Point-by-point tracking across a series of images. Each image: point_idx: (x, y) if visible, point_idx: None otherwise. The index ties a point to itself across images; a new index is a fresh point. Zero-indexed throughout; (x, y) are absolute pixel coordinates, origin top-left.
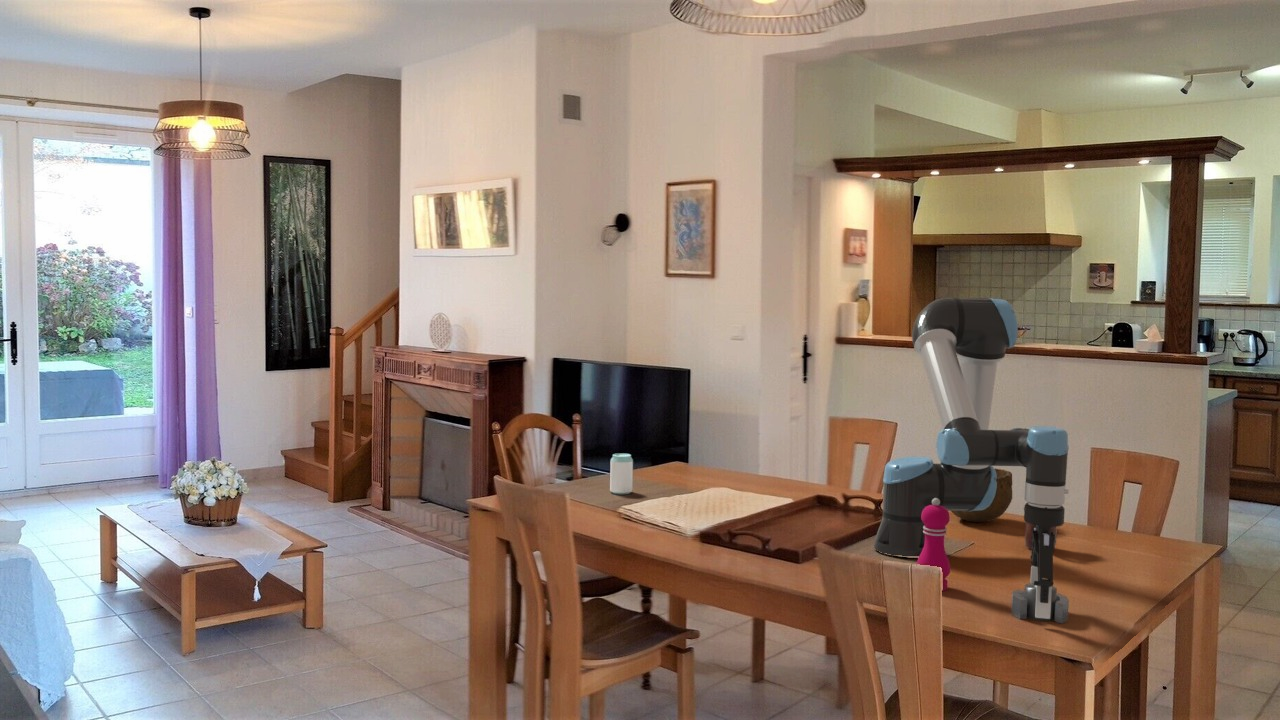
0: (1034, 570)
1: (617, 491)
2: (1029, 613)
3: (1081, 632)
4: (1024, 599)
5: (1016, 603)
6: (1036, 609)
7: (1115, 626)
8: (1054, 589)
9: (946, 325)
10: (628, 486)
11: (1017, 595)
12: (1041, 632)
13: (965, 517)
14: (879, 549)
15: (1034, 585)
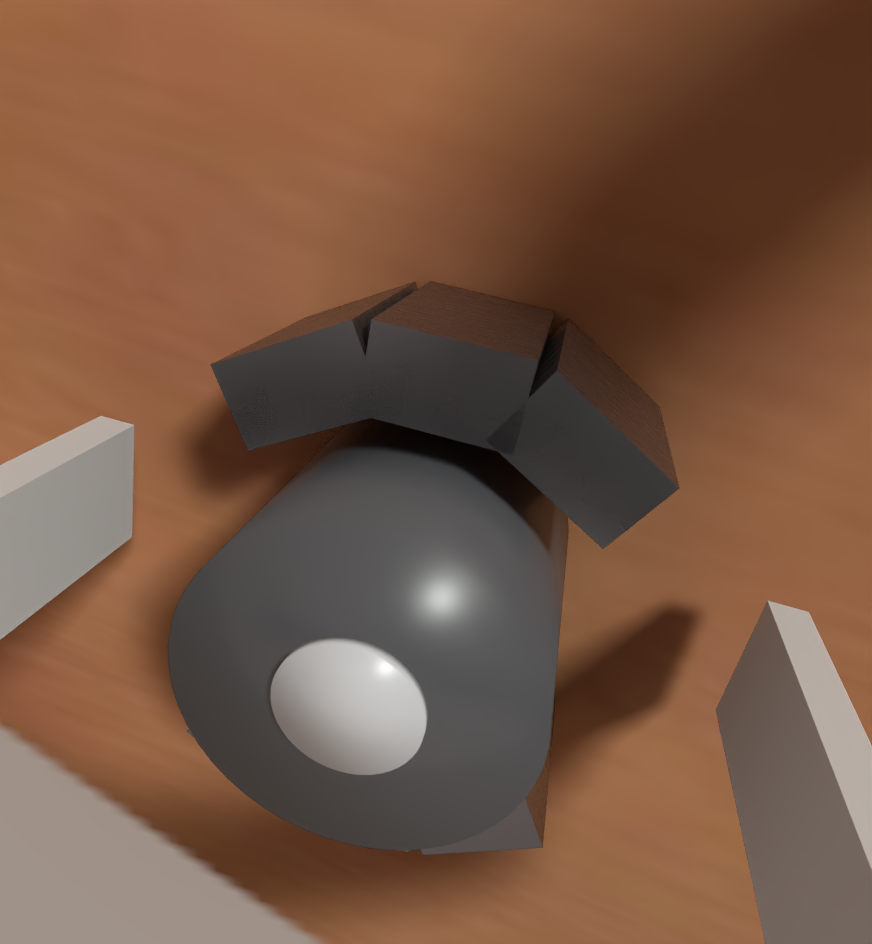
0: (851, 916)
1: None
2: (343, 432)
3: (121, 666)
4: (237, 415)
5: (311, 325)
6: (47, 449)
7: (300, 898)
8: (296, 807)
9: None
10: None
11: (390, 383)
12: (23, 393)
13: None
14: None
15: (425, 663)
